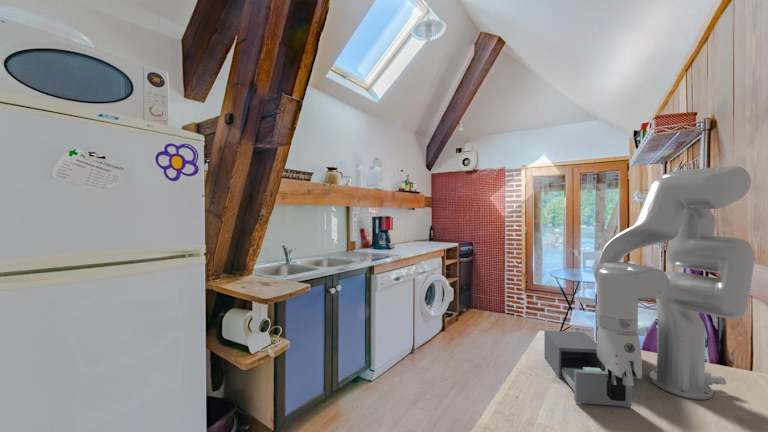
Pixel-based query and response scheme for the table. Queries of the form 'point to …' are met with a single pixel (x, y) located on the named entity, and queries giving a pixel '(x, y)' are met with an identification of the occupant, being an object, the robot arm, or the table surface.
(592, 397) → the drawer
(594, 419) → the table surface
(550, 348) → the grey box
